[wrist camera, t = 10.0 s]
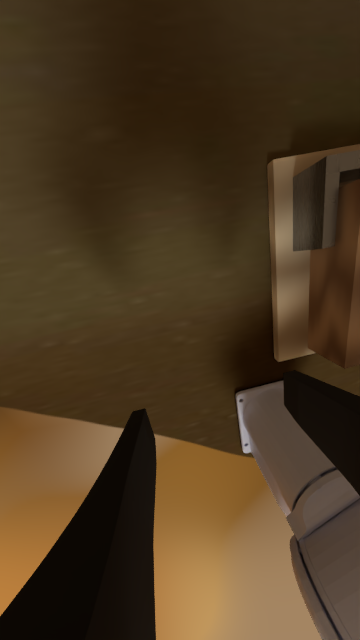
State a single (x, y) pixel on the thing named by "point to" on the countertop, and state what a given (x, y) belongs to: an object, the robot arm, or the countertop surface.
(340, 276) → the rail
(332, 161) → the bracket
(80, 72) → the countertop surface
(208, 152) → the countertop surface
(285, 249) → the mounting board
